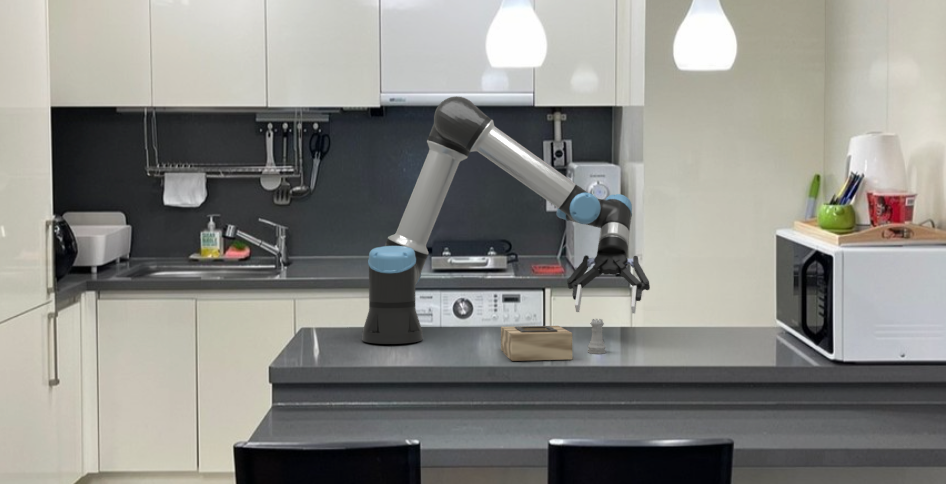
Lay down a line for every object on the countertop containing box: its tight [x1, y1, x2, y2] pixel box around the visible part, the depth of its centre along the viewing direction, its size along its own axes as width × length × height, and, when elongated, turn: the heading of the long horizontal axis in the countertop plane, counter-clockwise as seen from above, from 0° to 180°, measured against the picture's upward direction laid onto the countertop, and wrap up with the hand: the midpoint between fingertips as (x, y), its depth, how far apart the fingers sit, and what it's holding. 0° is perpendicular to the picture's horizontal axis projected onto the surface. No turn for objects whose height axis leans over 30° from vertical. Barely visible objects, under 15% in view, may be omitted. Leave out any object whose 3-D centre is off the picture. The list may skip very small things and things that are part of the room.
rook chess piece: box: [587, 318, 607, 355], centre depth 228 cm, size 4×4×8 cm
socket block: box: [500, 325, 573, 362], centre depth 225 cm, size 14×14×6 cm
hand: (604, 309), depth 233 cm, fingers open, 13 cm apart
